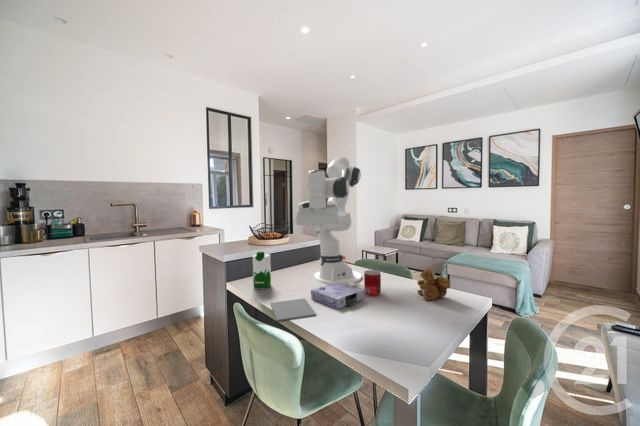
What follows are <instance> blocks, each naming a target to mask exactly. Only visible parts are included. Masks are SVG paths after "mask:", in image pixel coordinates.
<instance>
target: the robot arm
mask: <svg viewBox="0 0 640 426" xmlns="http://www.w3.org/2000/svg"><path fill="white" fill-rule="evenodd" d="M361 177H362V172H361V170H360V168H358V167H356V166H354V167H353V166H350V161H349V160H348V158H347V157H345V156H338V157H336V158H335V159H333V160H332V161H331V162H330V163H329V164H328V166H327V168H326V171H325V170H324V169H313V170H309V171H308V172H307V177H306V191H307V196H306V201H303V202H300V203H298V204H297V205H296V207H297V210H295V214H294V215H295V216H294V224H295V225H296V226H308V225H309V227H310V228H311V229H312V230H313V235H316V236H317V237H318V241H319V245H320V255H319V263H320V268H319V272H320V274H319V278H320V279H323V280H330V281H336V280H342V279H349V278H352V277H354V274H353V271H354V270H353V269H352V268H353V267H351V266H350V265H349V264H348V263H346V262H345V261H344V260H346V256H345V255H342V254H341V252H340V250H341V249H340V248H341V247H340V242H339V240H338V239H337V238H336V237H334V236H333V234H332V232H344V231H348V230H349V229H350V228H351V225H352V218H351V216H350V215H349V214H348V213H347V212H346V205H347V202H348V199H349V194H350V187H351V188H354V186H356V185H357V184H358V183H359V182H360V180H361Z"/></svg>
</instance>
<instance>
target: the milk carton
mask: <svg viewBox="0 0 640 426" xmlns="http://www.w3.org/2000/svg"><path fill="white" fill-rule="evenodd" d="M271 271H272V267H271V253H269V254H268V253H266V254H265V252H264V251H256V254H255V255H253V256H252V276H253V277H252V279H253V282H252V283H253V289H254V288H267V289H269V287H270V286H271V284H272V283H271V282H272V274H271V273H272V272H271Z"/></svg>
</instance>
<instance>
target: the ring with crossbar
mask: <svg viewBox="0 0 640 426" xmlns="http://www.w3.org/2000/svg"><path fill="white" fill-rule="evenodd" d="M352 271H353V274H354V277H352V278H349V279H342V280H336V281H330V280H323V279H320V278H319V274H320V271H317V272H315V274H314V280H315V281H317V280H318V282H319V281H320V283H322V282H323V284H326V283H327V285H330V284H333V283H340V284H343V285H347V286H351V287H356V286H357V284H356V283H358V282H360V281H361V280H362V274H361V273H360V272H358V271H356V270H352Z"/></svg>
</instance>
